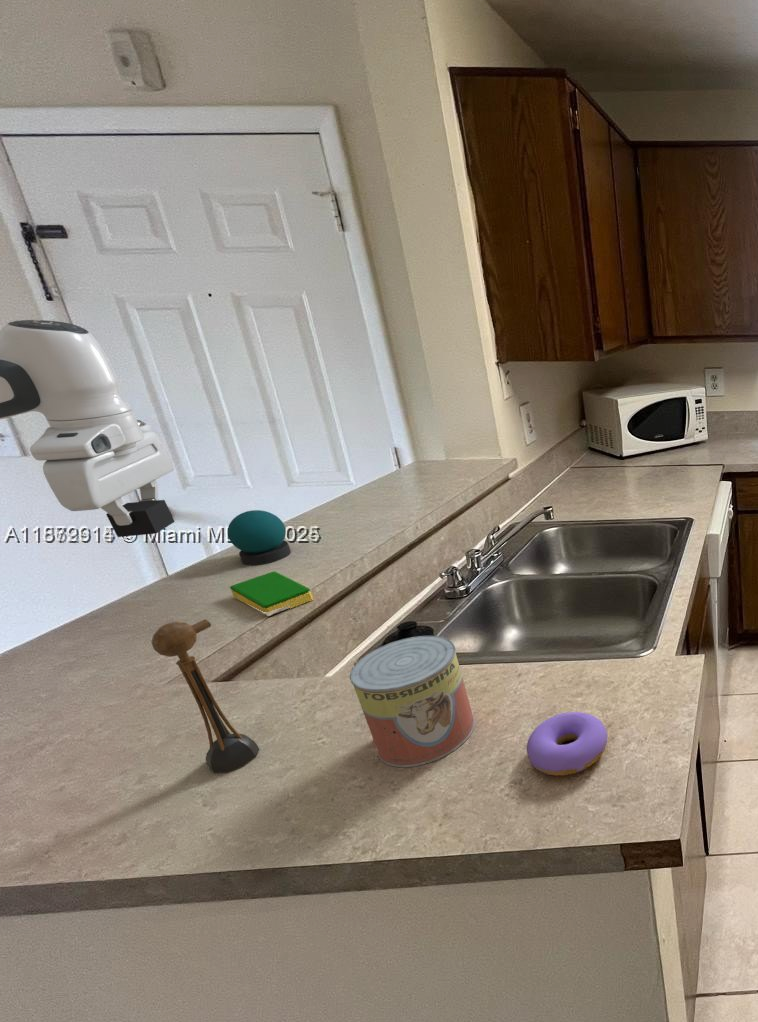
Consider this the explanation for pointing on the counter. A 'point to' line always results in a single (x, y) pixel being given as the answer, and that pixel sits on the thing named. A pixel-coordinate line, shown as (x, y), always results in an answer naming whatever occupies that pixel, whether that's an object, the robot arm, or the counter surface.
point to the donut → (570, 756)
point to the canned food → (414, 700)
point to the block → (144, 518)
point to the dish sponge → (271, 592)
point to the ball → (258, 537)
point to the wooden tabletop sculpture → (205, 698)
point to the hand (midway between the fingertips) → (140, 516)
